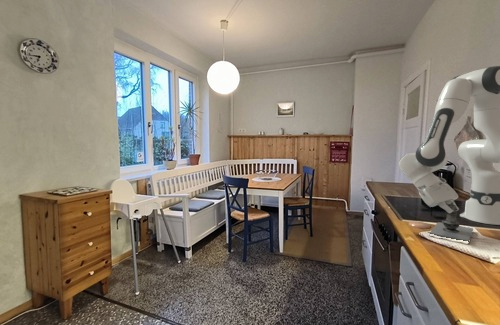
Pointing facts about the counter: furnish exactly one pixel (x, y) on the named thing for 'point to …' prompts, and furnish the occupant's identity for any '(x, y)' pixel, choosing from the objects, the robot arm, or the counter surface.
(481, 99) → the robot arm
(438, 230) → the slate board
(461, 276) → the counter surface
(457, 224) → the black rounded upright piece
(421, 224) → the peach domed round part
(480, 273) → the counter surface
